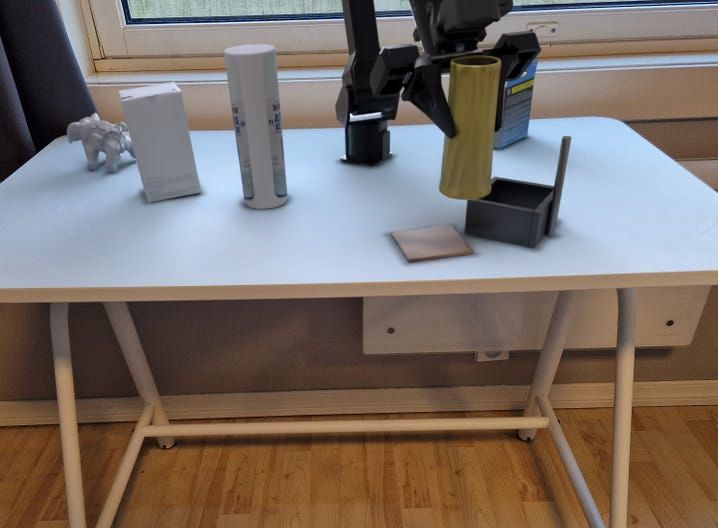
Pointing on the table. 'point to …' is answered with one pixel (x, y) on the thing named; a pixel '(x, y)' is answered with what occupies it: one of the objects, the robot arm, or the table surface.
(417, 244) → the cork pad
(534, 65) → the tape cartridge
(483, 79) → the vase
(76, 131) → the elephant statuette
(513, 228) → the holder
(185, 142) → the cosmetic box
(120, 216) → the table surface
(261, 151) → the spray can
